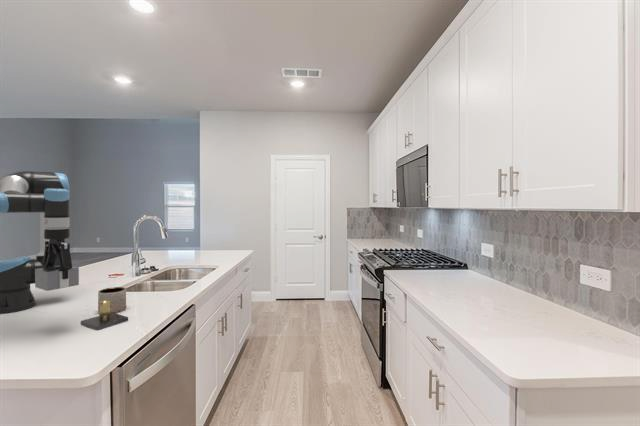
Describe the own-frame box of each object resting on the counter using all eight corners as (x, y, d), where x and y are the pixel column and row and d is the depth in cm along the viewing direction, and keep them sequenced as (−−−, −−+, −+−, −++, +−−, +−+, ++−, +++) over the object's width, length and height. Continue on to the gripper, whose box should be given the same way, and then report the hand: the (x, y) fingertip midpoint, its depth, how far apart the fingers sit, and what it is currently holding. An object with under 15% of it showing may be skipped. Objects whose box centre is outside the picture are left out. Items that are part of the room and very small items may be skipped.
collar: (35, 287, 119) (35, 269, 119) (66, 281, 128) (66, 264, 128) (47, 290, 115) (47, 272, 114) (78, 284, 123) (78, 267, 123)
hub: (80, 324, 127) (80, 302, 127) (111, 315, 137) (111, 295, 137) (96, 330, 121) (96, 307, 121) (128, 320, 132) (128, 299, 132)
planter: (93, 315, 138) (93, 293, 137) (103, 307, 148) (103, 287, 148) (121, 313, 140) (121, 292, 140) (129, 306, 151) (129, 286, 151)
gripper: (31, 227, 123) (31, 283, 123) (59, 230, 112) (60, 291, 113) (54, 226, 129) (54, 279, 130) (83, 229, 119) (83, 287, 119)
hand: (57, 285), depth 121 cm, fingers closed on collar, 10 cm apart
